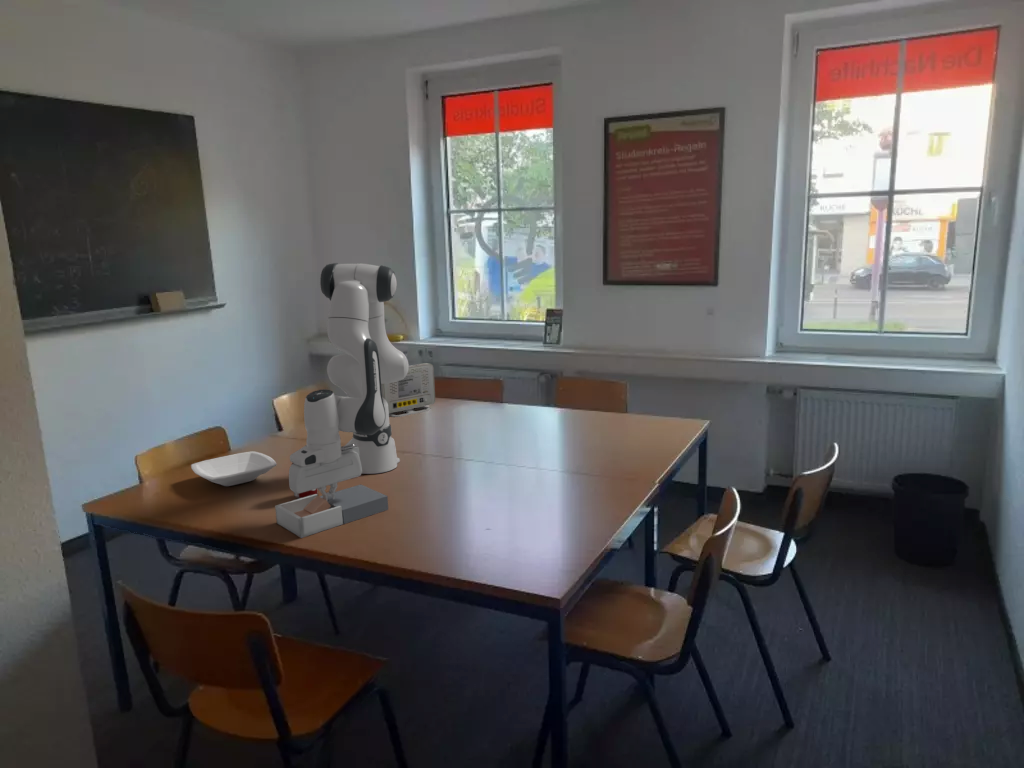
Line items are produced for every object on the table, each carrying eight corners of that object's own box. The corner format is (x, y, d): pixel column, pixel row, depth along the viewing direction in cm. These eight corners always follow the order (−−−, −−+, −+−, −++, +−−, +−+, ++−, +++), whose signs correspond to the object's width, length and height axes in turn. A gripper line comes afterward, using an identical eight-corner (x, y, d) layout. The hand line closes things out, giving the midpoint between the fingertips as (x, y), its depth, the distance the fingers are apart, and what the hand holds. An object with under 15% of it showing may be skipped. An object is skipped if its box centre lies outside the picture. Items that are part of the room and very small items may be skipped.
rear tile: (308, 515, 193) (303, 508, 192) (321, 501, 196) (317, 495, 194) (317, 519, 190) (312, 513, 188) (331, 506, 192) (326, 500, 191)
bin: (276, 523, 192) (275, 505, 191) (317, 510, 200) (315, 493, 199) (301, 538, 182) (299, 519, 181) (343, 524, 190) (341, 506, 189)
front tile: (304, 509, 192) (304, 518, 193) (286, 514, 189) (287, 523, 189) (313, 514, 189) (313, 523, 189) (295, 519, 185) (296, 528, 186)
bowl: (186, 481, 228) (184, 464, 227) (258, 465, 243) (256, 449, 242) (209, 499, 211) (207, 481, 210) (284, 481, 226) (283, 463, 225)
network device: (428, 405, 322) (425, 361, 318) (439, 408, 315) (436, 364, 311) (378, 415, 306) (374, 369, 302) (388, 419, 299) (385, 372, 295)
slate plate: (318, 510, 200) (317, 497, 199) (361, 497, 209) (360, 484, 209) (344, 524, 190) (342, 509, 189) (388, 509, 199) (387, 496, 199)
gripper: (352, 440, 200) (356, 487, 203) (283, 457, 186) (288, 507, 189) (364, 444, 196) (368, 492, 198) (295, 462, 182) (300, 513, 185)
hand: (328, 499), depth 194 cm, fingers closed
